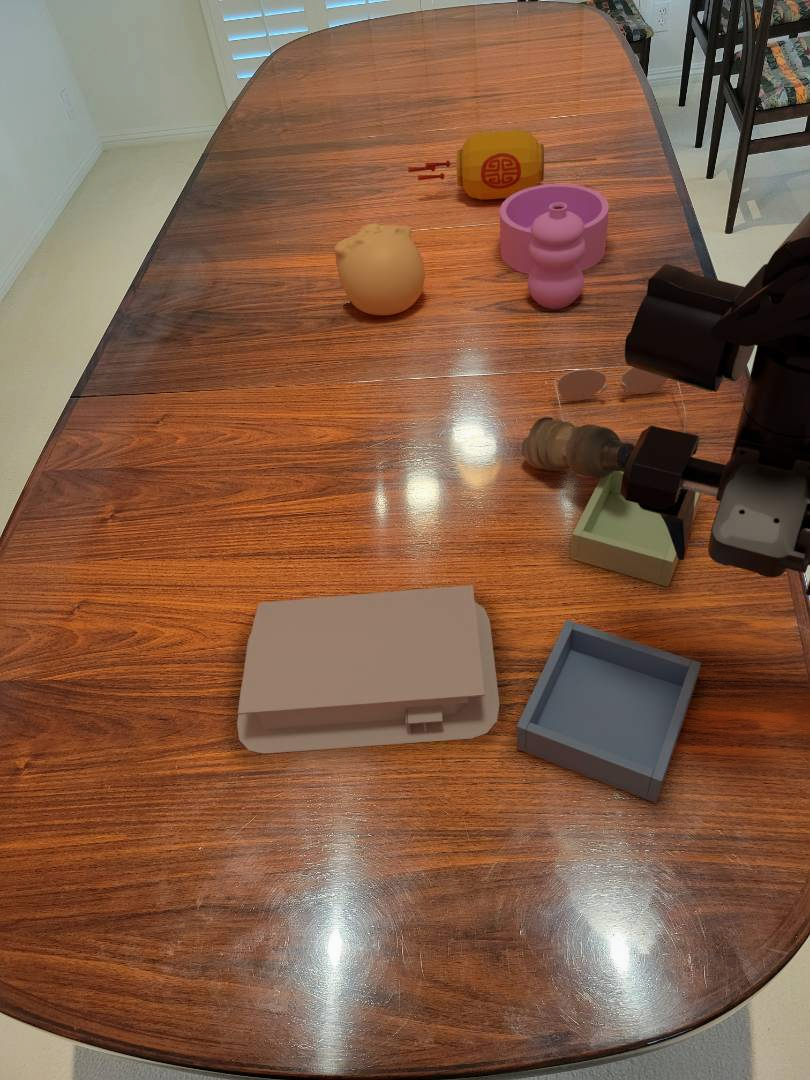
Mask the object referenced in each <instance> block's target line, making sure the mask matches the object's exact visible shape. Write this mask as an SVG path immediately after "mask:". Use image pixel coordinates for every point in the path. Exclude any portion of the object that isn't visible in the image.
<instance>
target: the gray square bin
mask: <svg viewBox="0 0 810 1080" xmlns="http://www.w3.org/2000/svg"><path fill="white" fill-rule="evenodd" d="M701 666H702V663H701V662H700V661H696V660H693V659H691V658H687V657H684V656H681V655H678V654H675V653H672V652H669V651H666V650H664V649H663V650H662V649H660V648H656V647H653V646H651V645H647V644H644V643H642V642H641V643H640V642H638V641H635V640H631V639H628V638H625V637H622V636H619V635H616V634H612V633H610V632H607V631H604V630H600V629H597V628H594V627H591V626H588V625H585V624H583V623H579V622H575V621H572V620H569V619H566V620H565V623H564V624H563V626H562V627H561V631H560V633H559V635H558V637H557V639H556V641H555V643H554V646H553V648H552V650H551V652H550V654H549V657H548V658H547V661H546V663H545V665H544V667H543V669H542V672H541V673H540V675H539V677H538V679H537V681H536V684H535V686H534V688H533V690H532V692H531V694H530V696H529V699H528V701H527V703H526V706H525V707H524V709H523V712H522V714H521V716H520V718H519V720H518V722H517V724H516V749H517V750H519V751H522V752H523V753H526V754H529V755H532V756H534V757H537V758H540V759H541V760H544V761H547V762H550V763H553V764H555V765H558V766H560V767H563V768H565V769H568V770H571V771H573V772H575V773H578V774H581V775H583V776H586V777H588V778H591V779H594V780H595V781H599V782H601V783H604V784H606V785H609V786H612V787H614V788H615V789H616V788H617V789H618V790H622V791H623V792H627V793H629V794H632V795H634V796H637V797H639V798H642V799H644V800H647V801H650V802H652V803H655V804H657V803H658V801H659V798H660V795H661V791H662V788H663V785H664V782H665V780H666V776H667V773H668V771H669V767H670V765H671V761H672V758H673V756H674V751H675V749H676V746H677V744H678V743H677V742H678V739H679V737H680V734H681V730H682V728H683V724H684V721H685V718H686V715H687V712H688V709H689V706H690V703H691V700H692V697H693V694H694V691H695V687H696V685H697V681H698V676H699V673H700V670H701Z"/></svg>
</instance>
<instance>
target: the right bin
mask: <svg viewBox="0 0 810 1080" xmlns="http://www.w3.org/2000/svg"><path fill="white" fill-rule="evenodd" d="M623 473H624V472H622V471H613V472H612V473H611V474H609V475H607V476H605V477H601V478H599V480H598V482H597V484H596V486H595V488H594V490H593V492H592V493H591V496H590V498H589V500H588V502H587V504H586V506H585V507H584V510H583V512H582V513H581V515H580V518H579V520H578V521H577V524H576V526H575V528H574V529H573V532H572V534H571V550H570V559H571V560H574V561H577V562H581V563H585V564H588V565H591V566H595V567H598V568H601V569H604V570H607V571H608V570H609V571H611V572H615V573H618V574H622V575H625V576H629V577H632V578H635V579H639V580H642V581H646V582H650V583H653V584H656V585H658V586H659V585H660V586H662V587H666V588H669V586H670V583H671V580H672V578H673V576H674V573H675V570H676V568H677V566H678V562H679V560H680V559H678V557H677V554H676V551H675V548H674V545H673V543H672V540H671V537H670V534H669V531H668V528H667V526H666V524H665V522H664V520H663V518H662V516H661V515H660V514H658V513H654V512H650V511H646V510H643V509H641V508H640V506H639V504H638V503H634V502H631V501H627V500H625V499H624V497H623V496H622V495H621V484H622V476H623ZM701 494H702V493H699V492H696V493H695V502H694V512H693V521H692V525H693V524H694V521H695V519H696V516H697V513H698V509H699V506H700V505H699V504H700V500H701Z"/></svg>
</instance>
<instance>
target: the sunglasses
mask: <svg viewBox="0 0 810 1080" xmlns="http://www.w3.org/2000/svg"><path fill="white" fill-rule="evenodd" d="M615 376H622V377H621V382H620V387H621V389H622V390H623V391H624V392H627V391H628V392H630V393H633V394H635V395H636V394H637V395H646V394H651V393H654V392H656V391H658V390H659V389H661V388H662V387H664V385H665V384H666V383H667V381H668V379H669V378H666V377H662V376H659V375H656V374H653V373H650V372H647V371H644V370H640V369H637V368H634V367H630V368H628V369H627V370H626V371H624V373H613V374H607V375H605V374H604V373H603V372H602V371H600V370H598V369H591V368H584V369H581V368H580V369H575V370H570V371H568V372H566V373H564V374H563V375H561V377H560V378H556V379H554V382H553V386H554V389H555V393H556V398H557V403H558V406H559V410H560V414H561V420H562V421H563V422H565V419H564V416H563V411H562V406H561V402H560V397H559V395H560V396H561V398H562V399H564V400H566V401H571V402H574V401H575V402H578V401H583V400H586V399H587V400H588V399H590V398H591V397H593V396H595V395H596V394H598V392H600V394H603V393H604V392H605V391H606V390H607V388H608V386H609V384H608V383H607V384H606V382H607V378H609V377H615ZM676 383H677V387H678V391H679V395H680V398H681V402H682V403H681V404H682V409H683V414H684V422H683V430H682V432H683V433H686V423H687V412H686V407H685V404H684V401H683V395H682V391H681V386H680V382H678V381H676ZM558 392H559V393H558Z"/></svg>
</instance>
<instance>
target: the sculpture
mask: <svg viewBox="0 0 810 1080" xmlns="http://www.w3.org/2000/svg"><path fill="white" fill-rule="evenodd" d="M412 231H413V229H412V227H411V226H409V225H403V224H402V225H400V224H396V225H395V224H390V225H385V224H381V225H380V224H379V223H375V222H374V223H368V224H366V225H364V226H363V227H360V229H359V230H358V232H357V233H355V234H354V235H351V236H349V237H347V238H344V239H341V240H340V241H338V242H337V243H336V244H335V246H334V248H333V251H334V254H335V263H336V267H337V274H338V278H339V281H340V283H341V285H342V288H343V291H344V292H345V294H346V295H345V296H347V298H348V300H349V301H350V302H351V305H353V306H354V307H355V308H356V309H357V310H359V311H361V312H363V313H366V314H369V315H374V316H391V315H396V314H400V313H402V312H405V311H406V310H407V309H409V308H410V307H412V306H413V305H414V304H415V303H416V302H417V301H418V300H419V298H420V296H421V295H422V291H423V288H424V286H425V279H426V270H425V264H424V260H423V256H422V254H421V252H420V250H419V248H418V247H417V245H416V244H415V242H414V240H413V237H412Z"/></svg>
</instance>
